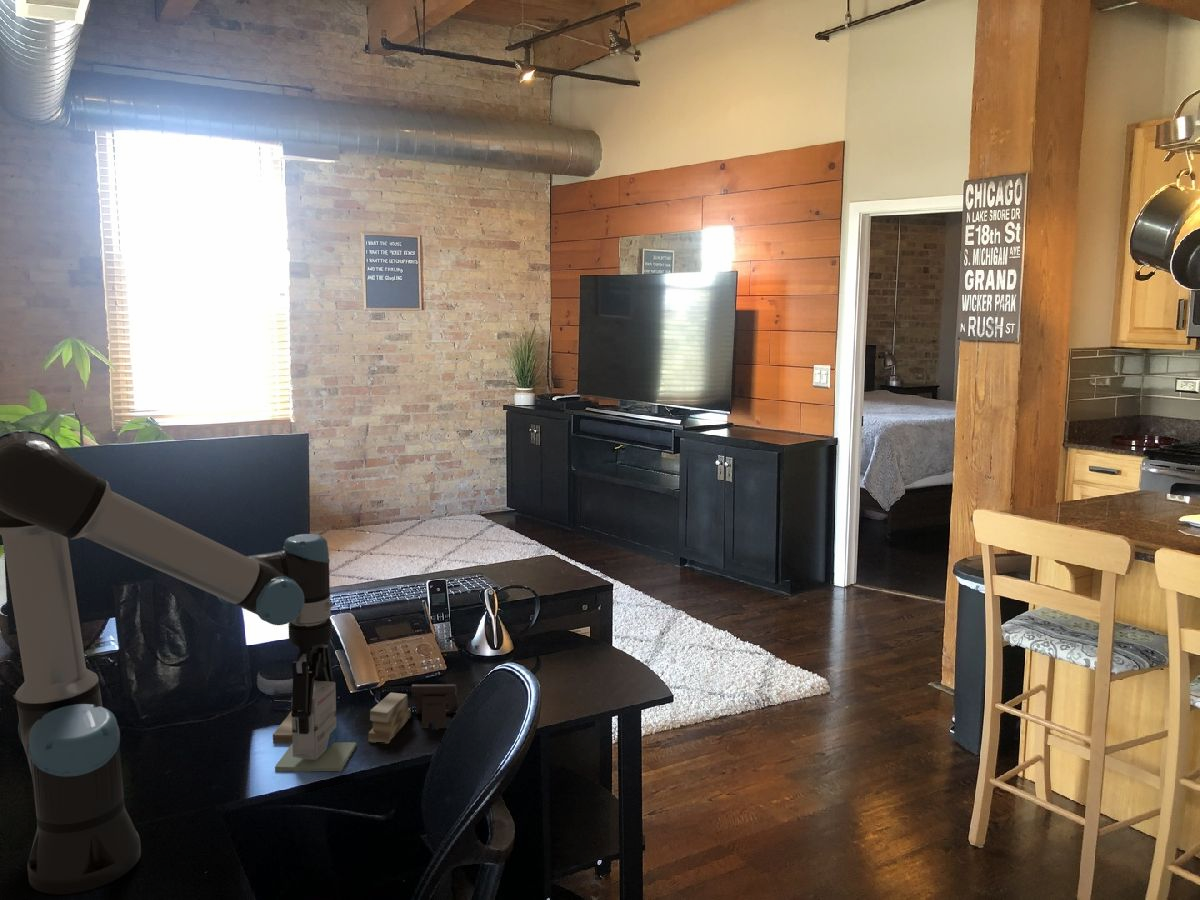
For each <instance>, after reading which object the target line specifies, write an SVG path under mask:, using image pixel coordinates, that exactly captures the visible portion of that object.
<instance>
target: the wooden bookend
mask: <svg viewBox="0 0 1200 900" xmlns="http://www.w3.org/2000/svg"><path fill="white" fill-rule="evenodd" d="M309 673H312V672H309ZM291 713H292V710H291V711H290V712H289V713H288V715H287V716H286V718H285V719H284V720H283V721H282V722H281V724H280V725H279V726H278V727H277V728H276V730H275V731H274V732H273V734H272V743H273V744H276V743H278V744H279V743H280V744H282V743H283V744H284V743H285V744H286V743H287V744H288V743H289V744H292V716H291Z"/></svg>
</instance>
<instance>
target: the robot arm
mask: <svg viewBox="0 0 1200 900" xmlns="http://www.w3.org/2000/svg"><path fill="white" fill-rule="evenodd" d="M0 536H1V538H2V544H3V545H2V546H3V552H4V556H5V557H4V558H5V563H6V570H7V577H8V583H9V589H10V596H11V597H10V598H11V603H12V608H13V609H12V610H13V614H14V621H15V626H16V627H15V628H16V633H17V642H18V646H19V652H20V653H19V655H20V660H21V666H22V667H21V668H22V671H23V672H22V673H23V679H24V682H23V683H22V684H21V685H20V686H19V688H18V689H17V690H16V692H15V701H16V707H17V712H18V713H17V714H18V725H17V730H18V735H19V739H20V742H21V744H22V745H23V748H24V752H25V755H26V758H27V763H28V766H29V770H30V774H31V779H32V786H33V787H32V788H33V795H34V805H35V814H36V827H37V828H36V831H35V835H34V839H33V843H32V846H31V850H30V853H29V857H28V859H27V860H28V861H27V875H28V876H27V877H28V878H27V879H28V883H29V884H30V887H32V888H33V889H34V890H36V891H38V892H40V893H43V894H47V895H71V894H79V893H83V892H88V891H91V890H94V889H97V888H100V887H103V886H106V885H107V884H111V883H112V882H114V881H116V880H118V879H120V878H121V877H123V876H124V875H125V874H127V873H128V872H130V871H131V870H132V869H133V868H134V867H135V866H136V864H137V863H138V862H139V861H140V859H141V855H142V848H141V839H140V838H141V837H140V835H139V833H138V831H137V830H136V827H135V825H134V823H133V821H132V819H131V817H130V815H129V813H128V811H127V809H126V807H125V798H124V797H125V796H124V795H125V794H124V785H123V773H122V759H121V751H120V750H121V749H120V743H121V741H120V740H121V732H120V728H119V725H118V721H117V718H116V716H115V714H114V713H113V712H112V711H110V710H109V709H107V708H106V707H104V706H103V701H102V694H101V687H100V686H101V685H100V680H99V675H98V674H97V673H96V672H94V671H92V670H90V669H88V668H87V667H86V666H87V665H86V657H85V652H84V645H83V643H84V642H83V638H82V637H83V636H82V630H81V629H82V628H81V624H80V617H79V610H78V603H77V595H76V590H75V589H76V588H75V581H74V575H73V568H72V561H71V554H70V547H69V540H77V539H80V538H85V539H86V540H90V541H92V542H95V543H96V544H99V545H101V546H104V547H105V548H107V549H110V550H112V551H114V552H116V553H119V554H122V555H124V556H126V557H128V558H130V559H133V560H135V561H136V562H140V563H141V564H143V565H145V566H148V567H151V568H153V569H155V570H157V571H159V572H162V573H164V574H166V575H169V576H171V577H173V578H174V579H177V580H179V581H182V582H184V583H186V584H189V585H191V586H193V587H196V588H198V589H200V590H202V591H204V592H207V593H209V594H211V595H213V596H215V597H217V598H218V600H219V602H221V603H222V604H233V605H235V606H237V607H239V608H241V609H243V610H246V611H249V612H250V613H253V614H255V615H257V616H258V617H259V618H260V620H262V621H264V622H267V623H268V624H270V625H273V626H285V625H288V641H289V643H291V644H292V645H294V646H295V647H297V648H298V653H297V658H296V660H295V661H292V664H291V668H292V691H291V692H292V697H291V698H292V703H291V711H292V713H291V712H290V713H291V716H292V717H297V728H298V749H314V748H315V743H314V721H313V714H311V707H312V698H313V688H314V680H315V681H329V682H334V674H333V668H332V660H331V659H332V658H331V650H330V640H331V639H332V638H333V627H332V624H333V622H332V619H331V618H330V617H331V616H332V612H331V611H332V610H331V608H333V607H334V603H333V602H332V601H331V588H330V587H331V586H330V584H331V583H330V579H331V577H330V563H331V562H330V561H331V560H330V554H329V546H328V541H327V539H326V538H325V537H324V536H322V535H320V534H316V533H301V534H295V535H293V536H289V537H287V538H286V539H285V540H284V545H283V550H278V551H273V552H266V553H265V552H264V553H259V554H253V555H252V554H250V555H244V554H242V553H240V552H238V551H236V550H234V549H232V548H229V547H228V546H226V545H223V544H222V543H219V542H217V541H215V540H214V539H211V538H209V537H207V536H206V535H205V536H204V535H203V534H201V533H199V532H196V531H195V530H192V529H190V528H189V527H186V526H184V525H183V524H180V523H178V522H176V521H174V520H172V519H170V518H169V517H168V518H167V517H166V516H164V515H161V514H159V513H158V512H155V511H153V510H151V509H149V508H148V507H145V506H143V505H141V504H140V503H137V502H135V501H133V500H131V499H129V498H127V497H125V496H122V495H121V494H119V493H116V492H115V491H113V490H112V489H111V486H110V483H109V481H108V480H106V479H105V478H102V477H100V476H98V475H96V474H94V473H92V472H91V471H89V470H88V469H86V468H84V466H82V465H80V464H79V463H78V462H76V461H75V460H74V459H73V458H72V457H70V456H69V455H68V454H67V452H65V451H64V449H63V448H62V447H61V445H60V444H59V442H57V441H56V440H55V439H53V438H52V437H50V436H49V435H47V434H45V433H41V432H38V431H33V430H27V429H26V430H13V431H9V432H5V433H3V434H0ZM309 672H312V673H309Z"/></svg>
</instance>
